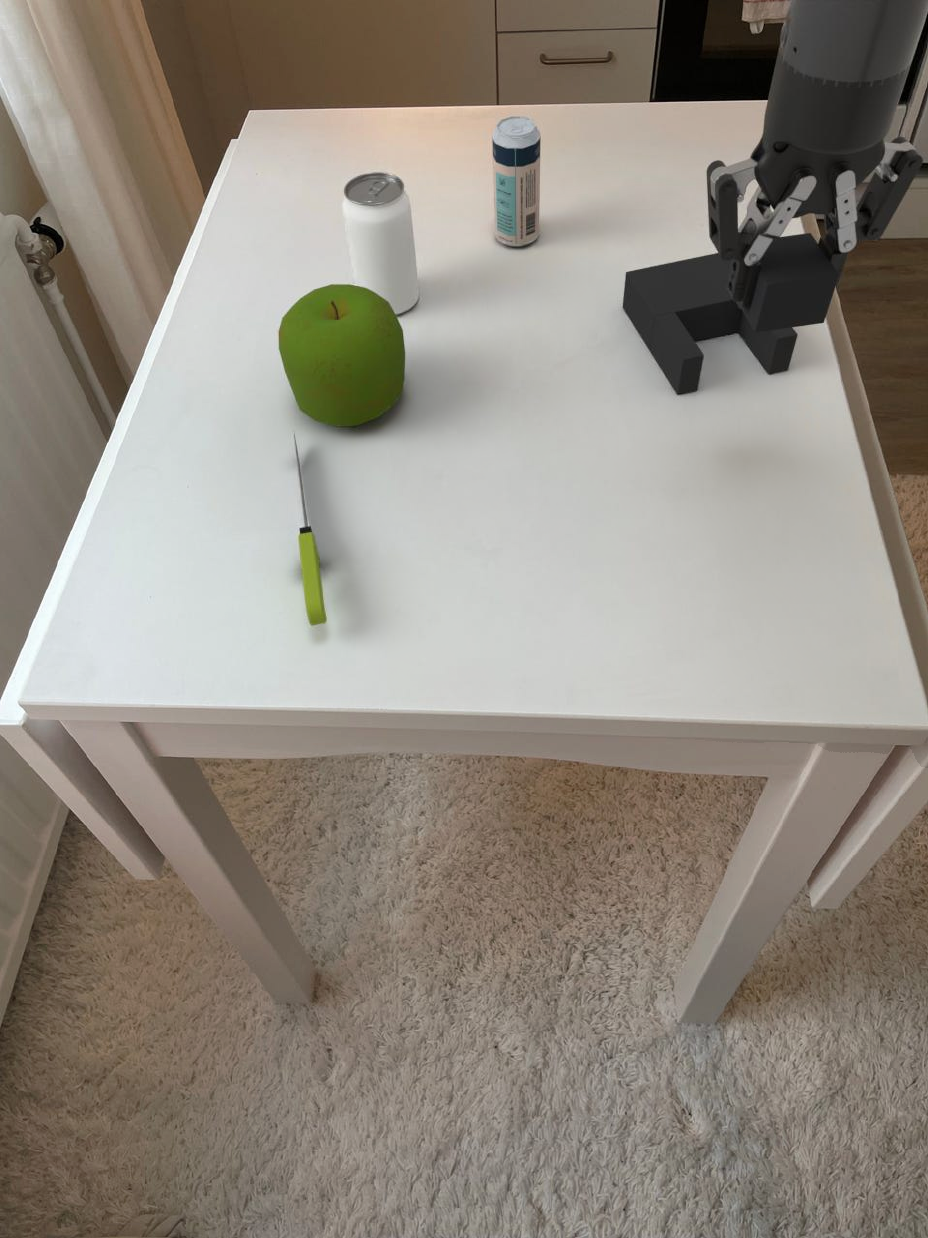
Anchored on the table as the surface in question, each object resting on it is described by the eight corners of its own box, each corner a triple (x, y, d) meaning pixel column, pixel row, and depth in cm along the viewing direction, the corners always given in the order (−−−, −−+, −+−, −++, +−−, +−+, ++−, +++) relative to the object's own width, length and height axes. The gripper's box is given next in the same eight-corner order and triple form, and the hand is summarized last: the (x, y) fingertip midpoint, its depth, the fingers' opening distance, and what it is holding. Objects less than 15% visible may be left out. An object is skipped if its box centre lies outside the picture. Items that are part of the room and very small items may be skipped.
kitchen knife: (292, 456, 86) (285, 429, 84) (306, 454, 87) (299, 427, 84) (313, 639, 72) (306, 612, 70) (330, 635, 72) (323, 609, 70)
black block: (797, 280, 72) (810, 232, 68) (824, 323, 68) (839, 274, 65) (730, 290, 71) (740, 241, 68) (754, 333, 68) (767, 284, 65)
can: (346, 311, 97) (327, 200, 87) (373, 276, 100) (357, 164, 91) (404, 324, 95) (391, 211, 86) (429, 287, 99) (419, 175, 89)
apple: (406, 439, 85) (393, 338, 77) (287, 442, 86) (260, 342, 77) (412, 360, 92) (401, 258, 83) (302, 363, 92) (279, 262, 84)
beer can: (540, 225, 105) (541, 113, 95) (537, 249, 102) (539, 137, 92) (496, 224, 105) (493, 113, 95) (493, 249, 102) (490, 137, 93)
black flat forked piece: (788, 370, 88) (798, 334, 85) (677, 395, 87) (683, 359, 84) (724, 285, 97) (731, 249, 93) (622, 306, 95) (625, 271, 92)
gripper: (750, 91, 53) (700, 342, 66) (995, 60, 54) (895, 314, 67) (706, 31, 57) (668, 279, 71) (934, 3, 58) (852, 253, 72)
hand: (779, 295), depth 69 cm, fingers closed on black block, 5 cm apart
